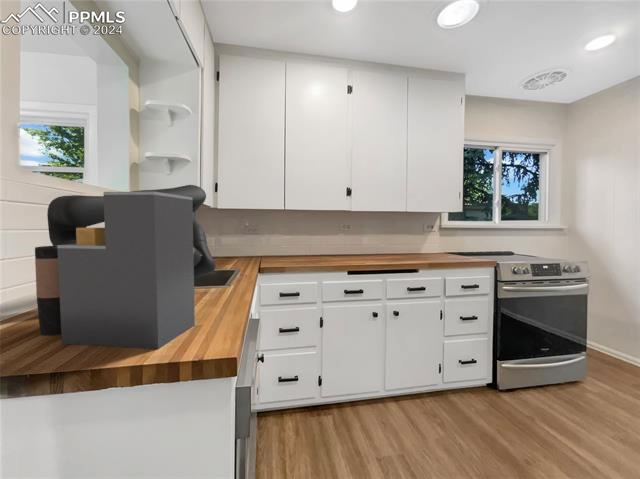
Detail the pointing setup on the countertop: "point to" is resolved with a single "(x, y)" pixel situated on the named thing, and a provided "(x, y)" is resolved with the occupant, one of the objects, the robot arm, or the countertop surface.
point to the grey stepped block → (131, 275)
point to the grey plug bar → (90, 236)
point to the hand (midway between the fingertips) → (145, 221)
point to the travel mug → (48, 290)
